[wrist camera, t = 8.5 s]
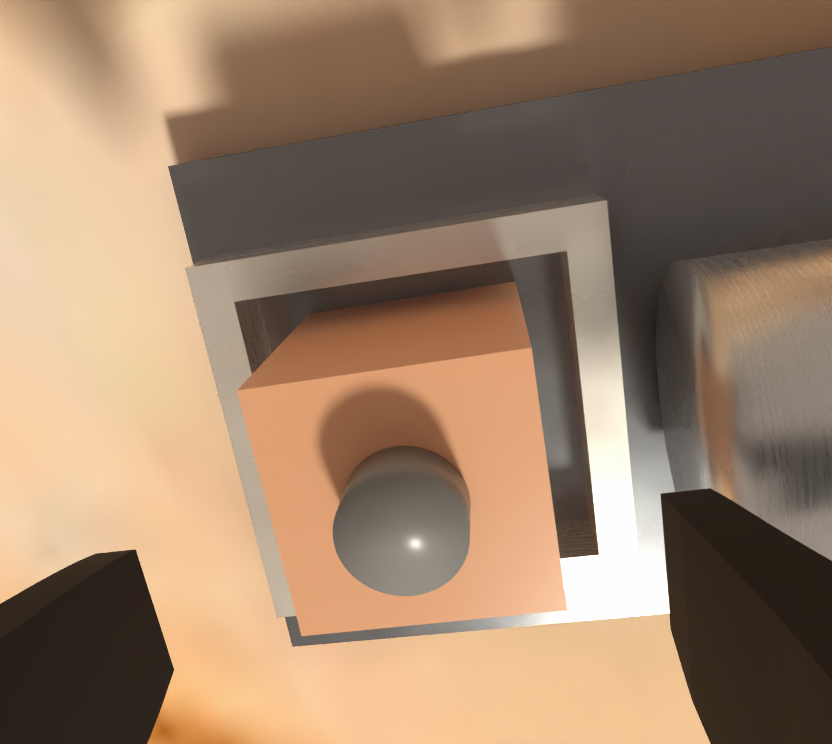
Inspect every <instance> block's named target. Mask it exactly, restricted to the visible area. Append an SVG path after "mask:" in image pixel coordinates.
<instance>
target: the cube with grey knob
mask: <svg viewBox="0 0 832 744" xmlns="http://www.w3.org/2000/svg"><path fill="white" fill-rule="evenodd" d="M237 394H238V397H239V401H240V405H241V409H242V413H243V416H244V420H245V424H246V428H247V431H248V435H249V439H250V443H251V447H252V450H253V454H254V458H255V462H256V465H257V469H258V473H259V477H260V481H261V484H262V488H263V492H264V496H265V499H266V503H267V507H268V511H269V515H270V518H271V522H272V526H273V530H274V533H275V537H276V541H277V545H278V549H279V552H280V556H281V560H282V564H283V568H284V571H285V575H286V579H287V583H288V586H289V590H290V594H291V598H292V602H293V605H294V609H295V613H296V617H297V620H298V624H299V628H300V632H301V636H309V635H319V634H330V633H340V632H350V631H360V630H370V629H381V628H391V627H401V626H411V625H421V624H432V623H442V622H452V621H462V620H472V619H483V618H493V617H503V616H513V615H523V614H534V613H544V612H554V611H564V610H567V605H566V598H565V590H564V583H563V576H562V568H561V561H560V554H559V546H558V539H557V531H556V524H555V517H554V509H553V502H552V494H551V487H550V480H549V472H548V465H547V458H546V450H545V443H544V435H543V428H542V421H541V413H540V406H539V399H538V391H537V384H536V376H535V369H534V362H533V354H532V347H531V343H530V339H529V335H528V331H527V327H526V323H525V319H524V314H523V310H522V306H521V302H520V298H519V294H518V290H517V286H516V282H515V281H514V282H508V283H501V284H495V285H489V286H482V287H476V288H470V289H464V290H457V291H451V292H445V293H438V294H432V295H426V296H419V297H413V298H407V299H400V300H394V301H388V302H381V303H375V304H369V305H362V306H356V307H350V308H343V309H337V310H331V311H324V312H318V313H312V314H308V316H307V317H306V318H305V319H304V320H303V321H302V322H301V323H300V324H299V325H298V326H297V327H296V328H295V329H294V330H293V331H292V332H291V334H290V335H289V336H288V337H287V338H286V339H285V340H284V341H283V342H282V343H281V344H280V345H279V346H278V347H277V348H276V349H275V351H274V352H273V353H272V354H271V355H270V356H269V357H268V358H267V359H266V360H265V361H264V362H263V363H262V364H261V365H260V366H259V368H258V369H257V370H256V371H255V372H254V373H253V374H252V375H251V376H250V377H249V378H248V379H247V380H246V381H245V382H244V383H243V385H242V386H241V387H240V388H239V389H238V390H237Z"/></svg>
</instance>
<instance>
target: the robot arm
mask: <svg viewBox="0 0 832 744" xmlns="http://www.w3.org/2000/svg"><path fill="white" fill-rule="evenodd" d="M661 507H662V520H663V533H664V546H665V559H666V573H667V586H668V599H669V612H670V625H671V631H672V635H673V638H674V641H675V645H676V648H677V652H678V655H679V658H680V662H681V665H682V669H683V672H684V675H685V678H686V682H687V685H688V688H689V691H690V695H691V698H692V701H693V703H694V706H695V708H696V710H697V713H698V715H699V718H700V720H701V722H702V725H703V727H704V729H705V731H706V734H707V736H708V738H709V741H710V743H711V744H832V561H831V560H830V559H828V558H826V557H824V556H823V555H821V554H819V553H817V552H816V551H814V550H812V549H811V548H809V547H807V546H805V545H804V544H802V543H800V542H799V541H797V540H795V539H794V538H792V537H790V536H789V535H787V534H785V533H784V532H782V531H780V530H779V529H777V528H776V527H774V526H772V525H771V524H769V523H767V522H766V521H764V520H763V519H761V518H759V517H758V516H756V515H754V514H753V513H751V512H750V511H748V510H746V509H745V508H743V507H742V506H740V505H738V504H737V503H735V502H733V501H732V500H730V499H728V498H727V497H725V496H723V495H722V494H720V493H718V492H716V491H714V490H713V489H711V488H707V489H698V490H689V491H679V492H670V493H661ZM173 671H174V668H173V665H172V662H171V659H170V656H169V653H168V649H167V646H166V643H165V640H164V637H163V634H162V631H161V628H160V624H159V621H158V618H157V615H156V612H155V609H154V606H153V603H152V599H151V596H150V593H149V590H148V587H147V584H146V581H145V578H144V574H143V571H142V568H141V565H140V562H139V559H138V556H137V553H136V550H127V551H117V552H108V553H99V554H94V555H92V556H89V557H87V558H85V559H82V560H80V561H78V562H76V563H74V564H72V565H70V566H68V567H66V568H64V569H62V570H60V571H58V572H56V573H54V574H52V575H51V576H49V577H47V578H45V579H43V580H41V581H40V582H38V583H36V584H34V585H33V586H31V587H29V588H27V589H25V590H24V591H22V592H20V593H19V594H17V595H15V596H13V597H12V598H10V599H8V600H6V601H5V602H3V603H1V604H0V744H147V742H148V740H149V738H150V735H151V733H152V730H153V728H154V725H155V722H156V720H157V717H158V715H159V712H160V709H161V707H162V704H163V701H164V698H165V695H166V692H167V689H168V686H169V683H170V680H171V677H172V674H173Z"/></svg>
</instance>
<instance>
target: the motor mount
mask: <svg viewBox="0 0 832 744" xmlns="http://www.w3.org/2000/svg"><path fill="white" fill-rule="evenodd" d="M168 168H169V172H170V176H171V179H172V183H173V187H174V191H175V195H176V199H177V203H178V206H179V210H180V214H181V218H182V222H183V226H184V230H185V233H186V237H187V241H188V245H189V249H190V253H191V257H192V260H193V265H191V266H189V267H186V268H185V269H186V273H187V277H188V280H189V284H190V288H191V292H192V296H193V299H194V303H195V307H196V311H197V315H198V318H199V322H200V326H201V330H202V334H203V337H204V341H205V345H206V349H207V353H208V356H209V360H210V364H211V368H212V372H213V375H214V379H215V383H216V387H217V391H218V394H219V398H220V402H221V406H222V410H223V413H224V417H225V421H226V425H227V429H228V432H229V436H230V440H231V444H232V448H233V451H234V455H235V459H236V463H237V467H238V470H239V474H240V478H241V482H242V486H243V489H244V493H245V497H246V501H247V505H248V508H249V512H250V516H251V520H252V524H253V527H254V531H255V535H256V539H257V543H258V546H259V550H260V554H261V558H262V562H263V565H264V569H265V573H266V577H267V581H268V584H269V588H270V592H271V596H272V600H273V603H274V607H275V611H276V615H277V618H279V617H285V619H286V623H287V627H288V631H289V634H290V638H291V642H292V646H293V647H294V646H305V645H316V644H328V643H339V642H350V641H362V640H373V639H385V638H396V637H407V636H419V635H430V634H441V633H453V632H464V631H475V630H487V629H498V628H509V627H521V626H532V625H543V624H555V623H566V622H577V621H589V620H600V619H612V618H623V617H634V616H646V615H657V614H668V613H670V612H669V599H668V586H667V573H666V559H665V546H664V533H663V520H662V507H661V493H670V492H679V491H689V490H698V489H707V488H711V489H713V490H714V491H716V492H718V493H720V494H722V495H723V496H725V497H727V498H728V499H730V500H732V501H733V502H735V503H737V504H738V505H740V506H742V507H743V508H745V509H746V510H748V511H750V512H751V513H753V514H754V515H756V516H758V517H759V518H761V519H763V520H764V521H766V522H767V523H769V524H771V525H772V526H774V527H776V528H777V529H779V530H780V531H782V532H784V533H785V534H787V535H789V536H790V537H792V538H794V539H795V540H797V541H799V542H800V543H802V544H804V545H805V546H807V547H809V548H811V549H812V550H814V551H816V552H817V553H819V554H821V555H823V556H824V557H826V558H828V559H830V560H831V561H832V47H827V48H821V49H816V50H810V51H805V52H799V53H794V54H788V55H783V56H777V57H772V58H766V59H760V60H755V61H749V62H744V63H738V64H733V65H727V66H722V67H716V68H711V69H705V70H699V71H694V72H688V73H683V74H677V75H672V76H666V77H661V78H655V79H650V80H644V81H638V82H633V83H627V84H622V85H616V86H611V87H605V88H600V89H594V90H589V91H583V92H577V93H572V94H566V95H561V96H555V97H550V98H544V99H539V100H533V101H528V102H522V103H516V104H511V105H505V106H500V107H494V108H489V109H483V110H478V111H472V112H467V113H461V114H455V115H450V116H444V117H439V118H433V119H428V120H422V121H417V122H411V123H406V124H400V125H394V126H389V127H383V128H378V129H372V130H367V131H361V132H356V133H350V134H345V135H339V136H333V137H328V138H322V139H317V140H311V141H306V142H300V143H295V144H289V145H284V146H278V147H272V148H267V149H261V150H256V151H250V152H245V153H239V154H234V155H228V156H223V157H217V158H211V159H206V160H200V161H195V162H189V163H184V164H178V165H173V166H168ZM514 281H515V282H516V286H517V290H518V294H519V298H520V302H521V306H522V310H523V314H524V319H525V323H526V327H527V331H528V335H529V339H530V343H531V347H532V354H533V362H534V369H535V376H536V384H537V391H538V399H539V406H540V413H541V421H542V428H543V435H544V443H545V450H546V458H547V465H548V472H549V480H550V487H551V494H552V502H553V509H554V517H555V524H556V531H557V539H558V546H559V554H560V561H561V568H562V576H563V583H564V590H565V598H566V605H567V610H564V611H554V612H544V613H534V614H523V615H513V616H503V617H493V618H483V619H472V620H462V621H452V622H442V623H432V624H421V625H411V626H401V627H391V628H381V629H370V630H360V631H350V632H340V633H330V634H319V635H309V636H301V632H300V628H299V624H298V620H297V617H296V613H295V609H294V605H293V602H292V598H291V594H290V590H289V586H288V583H287V579H286V575H285V571H284V568H283V564H282V560H281V556H280V552H279V549H278V545H277V541H276V537H275V533H274V530H273V526H272V522H271V518H270V515H269V511H268V507H267V503H266V499H265V496H264V492H263V488H262V484H261V481H260V477H259V473H258V469H257V465H256V462H255V458H254V454H253V450H252V447H251V443H250V439H249V435H248V431H247V428H246V424H245V420H244V416H243V413H242V409H241V405H240V401H239V397H238V394H237V390H238V389H239V388H240V387H241V386H242V385H243V383H244V382H245V381H246V380H247V379H248V378H249V377H250V376H251V375H252V374H253V373H254V372H255V371H256V370H257V369H258V368H259V366H260V365H261V364H262V363H263V362H264V361H265V360H266V359H267V358H268V357H269V356H270V355H271V354H272V353H273V352H274V351H275V349H276V348H277V347H278V346H279V345H280V344H281V343H282V342H283V341H284V340H285V339H286V338H287V337H288V336H289V335H290V334H291V332H292V331H293V330H294V329H295V328H296V327H297V326H298V325H299V324H300V323H301V322H302V321H303V320H304V319H305V318H306V317H307V316H308V314H312V313H318V312H324V311H331V310H337V309H343V308H350V307H356V306H362V305H369V304H375V303H381V302H388V301H394V300H400V299H407V298H413V297H419V296H426V295H432V294H438V293H445V292H451V291H457V290H464V289H470V288H476V287H482V286H489V285H495V284H501V283H508V282H514Z"/></svg>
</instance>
